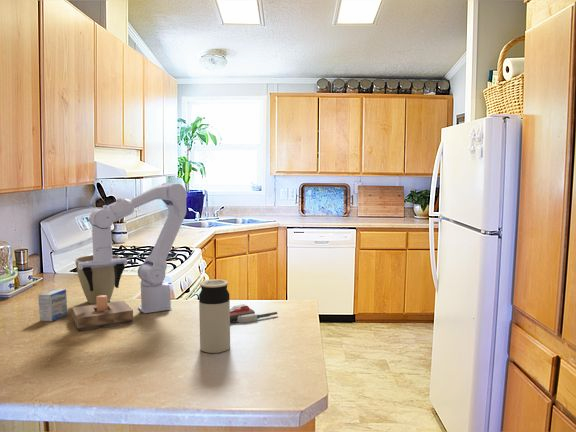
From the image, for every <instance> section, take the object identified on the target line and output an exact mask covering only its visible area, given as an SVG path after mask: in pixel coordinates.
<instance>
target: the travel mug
mask: <svg viewBox="0 0 576 432" xmlns="http://www.w3.org/2000/svg"><path fill="white" fill-rule="evenodd" d="M199 285H200V287H201V291H200V293H199V294H198V302H199V304H198V308H199V313H198V314H199V315H198V316H199V349H200V350H201V351H202V352H204V353H208V354H217V353H219V354H220V353H223V352H226V351H228V350H229V349H230V348H231V323H230V309H231V308H230V307H231V305H230V302H231V301H230V298H231V297H230V293H229V291H228V285H229V281H228V280H226V279H220V278H219V279H218V278H217V279H216V278H215V279H206V280H202V281H200V282H199Z"/></svg>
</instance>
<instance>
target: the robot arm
mask: <svg viewBox="0 0 576 432" xmlns="http://www.w3.org/2000/svg"><path fill="white" fill-rule="evenodd" d="M187 198H188V192H187V190H186V188H185V186H184V185H182V184H181V183H169V182H163V183H162V184H158V185H156V186H153V187H151V188H149V189H147V190H146V191H143V192H141V193H140V194H138V195H136V196H134V197H132V198H130V199H128V198H121V197H119V198H116V201H115V202H112V203H110V204H107V205H106V204H104V205H102V209H100V208H97V209H94V210H93V211H92V212H91V213H90V216H89V217H88V222H89V224H90V225H91V226H92V227H91V238H92V255H93V260H92V261H86V262H79V263H78V268H79V270H80V269H82V271H83V272H84V274H85V276H86V278H87V281H88V284H89V287H90V291H93V281H92V274H93V271H92V269H91V268H95V267H105V266H114V273H115V286H114V288H116V289H119V285H120V280H121V278H122V274H123V272H125V271H124V270H125V269H126V268H125V267H126V266H125V265H128V258H127V257H122V258H121V257H119V258H115V259H112V255H113V240H112V237H113V236H112V225H113V224H114V223H115V222H118V221H120V220H122V219H124V218H127V217H128V216H130V215H132V214H133V213H134V210H135V209H136V208H139V207H140V206H143V205H145V204H149V203H151V202H152V201H155V200H162V202H163V203H164V204H165V205H166V207H167V209H168V212H169V213H168V215H167V217H166V220H165V222H164V224H163V227H162V228H161V231H160V233H159V235H158V237H157V239H156V242H155V244H154V247H153V249H152V251H151V253H150V254H149V255H148V256H146V257H145V259H144V262H142V264H140V265H139V266H138V268H137V276H138V277H139V279H140V280H141V281H140V298H141V299H140V303H141V305H140V306H139V305H138V307H137V308H138V310H139V311H141V312H142V314H150V313H156V312H163V311H170V310H172V307H171V305H172V303H171V302H172V301H171V300H172V299H171V288H170V284H169V282H167V281H166V282H164V281H165V278H166V270H167V267H168V265H167V264H168V263H167V258H168V255H169V253H170V252H171V249H172V248H173V247H172V246H173V244H174V242H175V240H176V238H177V236H178V234H179V231H180V229H181V226H182V224H183V221H184V219H185V217H186V215H187Z"/></svg>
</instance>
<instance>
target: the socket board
mask: <svg viewBox="0 0 576 432" xmlns="http://www.w3.org/2000/svg"><path fill="white" fill-rule="evenodd" d="M107 305H108V310H105V311H98V312H97V304H90V305H89V304H88V305H81V306H73V307H71V310H72V311H71V313H72V315H71V316H72V321H73V323H74V326H75V328H76V330H77V332H83V331H88V330H89V331H90V330H96V329H101V328H108V327H113V326H122V325H129V324H133V323H134V310H133V309H132V307H130V306H129V305H128V304H127V302H126V301H125V300H120V301H119V300H118V301H112V302H110V301H109V302H107Z"/></svg>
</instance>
